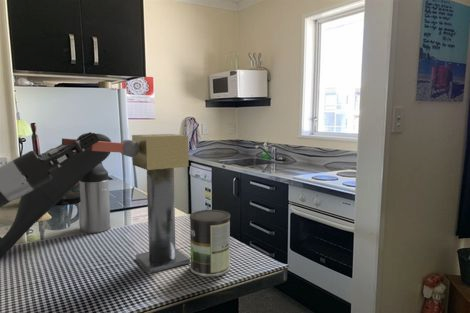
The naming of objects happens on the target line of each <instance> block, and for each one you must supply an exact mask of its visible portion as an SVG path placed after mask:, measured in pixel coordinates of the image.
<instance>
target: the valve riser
mask: <svg viewBox="0 0 470 313" xmlns="http://www.w3.org/2000/svg"><path fill="white" fill-rule="evenodd" d="M131 140H132V141H135V142H137V143H138V144H139V146H140V151H139V153H138V154H137V155H136V156H134V157H132V166H135V167H138V168H140V169H143V170H146V190H147V192H146V194H147V224H148V227H147V228H148V230H147V231H148V232H147V233H148V251H147V252H142V253H136V254H135V259H136V260H137V261H138V262H139V263H140V264H141V266H142V267H143V268H144V269H145V270H146V271H147V272H148V273H149V274H154V273H156V272H161V271H165V270H170V269H174V268H178V267H181V266H185V265H188V264H191V258H189V256H187V255H186V254H184V253H183V252H182V251H180V250H179V249H177V248H176V211H175V210H176V208H175V207H176V203H175V202H176V201H175V168H176V169H177V168H185V167H186V168H188V167H190V166H189V135H188V134H178V133H177V134H176V133H161V134H160V133H159V134H158V133H157V134H154V133H153V134H131Z"/></svg>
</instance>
